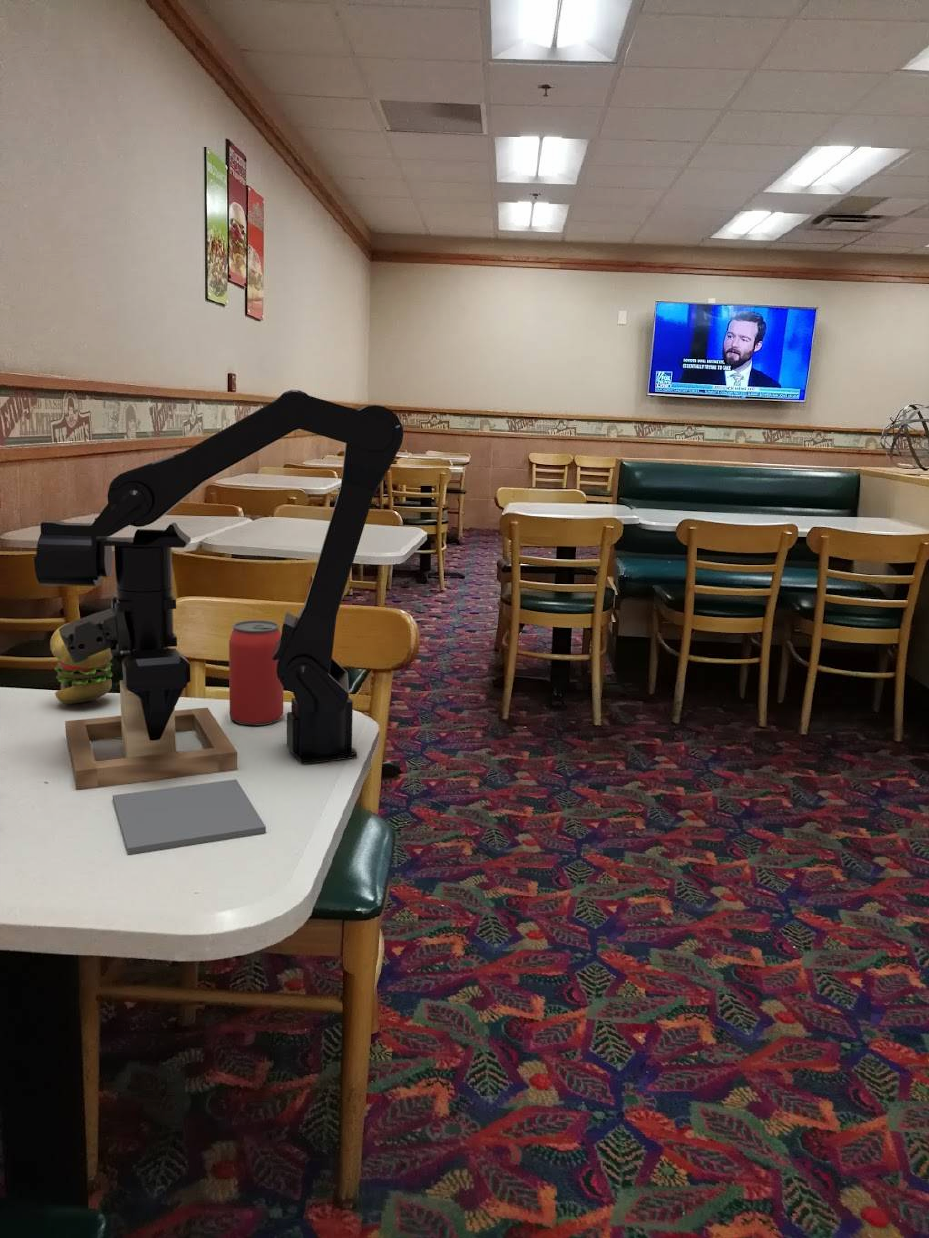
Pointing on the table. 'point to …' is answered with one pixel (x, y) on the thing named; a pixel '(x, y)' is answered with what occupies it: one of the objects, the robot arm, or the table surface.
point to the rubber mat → (185, 816)
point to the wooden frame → (150, 767)
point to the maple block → (142, 729)
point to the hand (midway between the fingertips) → (148, 726)
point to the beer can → (254, 673)
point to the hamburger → (81, 673)
